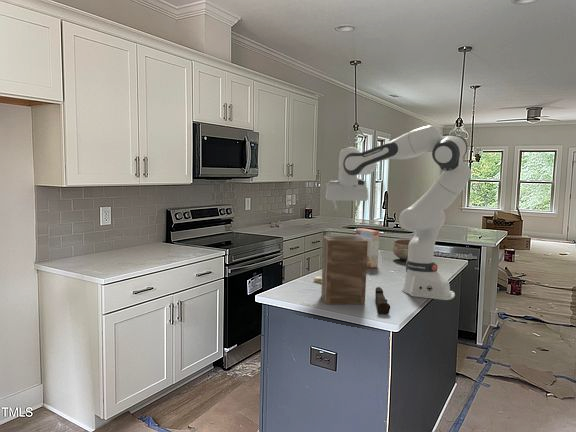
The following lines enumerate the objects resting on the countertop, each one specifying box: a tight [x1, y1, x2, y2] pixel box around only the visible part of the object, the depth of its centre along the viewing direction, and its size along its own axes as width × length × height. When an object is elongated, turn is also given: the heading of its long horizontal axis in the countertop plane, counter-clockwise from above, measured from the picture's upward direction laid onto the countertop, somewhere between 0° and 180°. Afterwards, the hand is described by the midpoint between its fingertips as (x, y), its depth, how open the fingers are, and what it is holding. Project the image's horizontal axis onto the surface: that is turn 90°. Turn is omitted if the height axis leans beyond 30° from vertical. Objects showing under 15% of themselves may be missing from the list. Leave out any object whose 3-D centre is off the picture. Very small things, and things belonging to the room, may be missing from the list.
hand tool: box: [374, 286, 391, 315], centre depth 179 cm, size 23×5×6 cm, turn 172°
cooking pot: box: [392, 238, 412, 262], centre depth 273 cm, size 25×19×12 cm
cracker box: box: [355, 227, 380, 269], centre depth 255 cm, size 14×6×21 cm, turn 32°
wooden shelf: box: [321, 235, 368, 305], centre depth 185 cm, size 12×16×26 cm
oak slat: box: [313, 276, 322, 284], centre depth 210 cm, size 20×3×2 cm, turn 46°
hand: (346, 210), depth 214 cm, fingers open, 8 cm apart
